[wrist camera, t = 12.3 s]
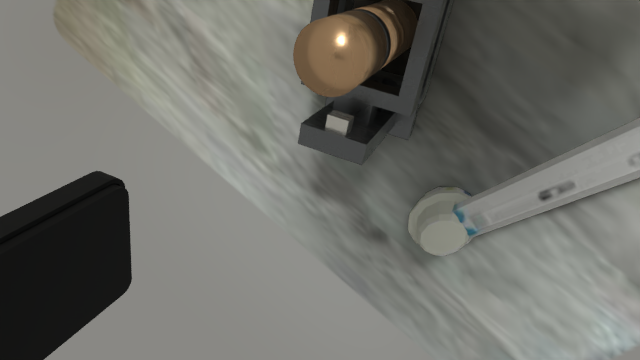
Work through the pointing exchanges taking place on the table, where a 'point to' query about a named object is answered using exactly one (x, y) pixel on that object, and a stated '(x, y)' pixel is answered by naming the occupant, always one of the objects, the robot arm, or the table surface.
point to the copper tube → (352, 46)
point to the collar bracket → (377, 92)
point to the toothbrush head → (526, 192)
